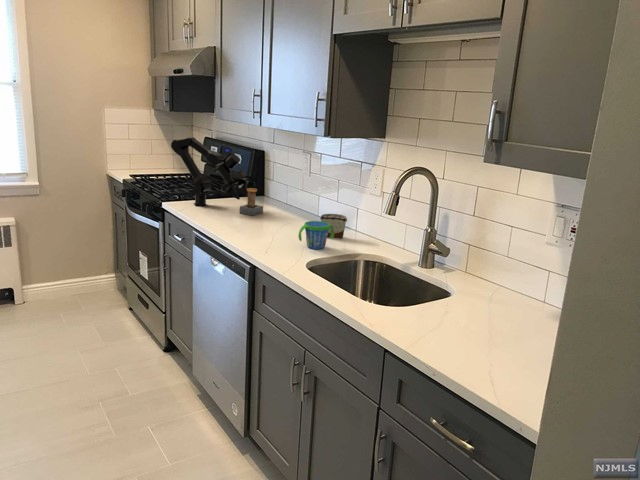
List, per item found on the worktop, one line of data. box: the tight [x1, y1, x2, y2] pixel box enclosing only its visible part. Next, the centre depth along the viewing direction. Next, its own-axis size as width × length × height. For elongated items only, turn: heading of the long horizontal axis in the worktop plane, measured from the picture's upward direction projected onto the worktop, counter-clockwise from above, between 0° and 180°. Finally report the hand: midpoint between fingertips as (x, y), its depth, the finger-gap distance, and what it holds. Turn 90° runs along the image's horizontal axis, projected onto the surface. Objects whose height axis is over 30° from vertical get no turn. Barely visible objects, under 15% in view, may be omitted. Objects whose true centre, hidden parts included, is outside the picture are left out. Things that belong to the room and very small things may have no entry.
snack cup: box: [298, 220, 335, 250], centre depth 209 cm, size 16×10×10 cm
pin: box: [246, 187, 258, 208], centre depth 263 cm, size 5×5×13 cm
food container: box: [319, 213, 348, 240], centre depth 228 cm, size 12×6×10 cm, turn 84°
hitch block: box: [239, 203, 264, 217], centre depth 264 cm, size 9×9×4 cm
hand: (244, 197), depth 264 cm, fingers open, 9 cm apart
